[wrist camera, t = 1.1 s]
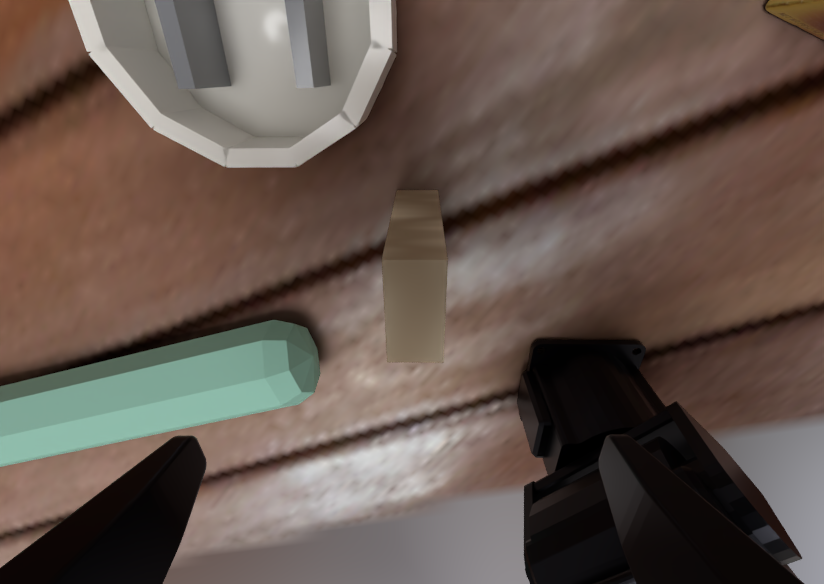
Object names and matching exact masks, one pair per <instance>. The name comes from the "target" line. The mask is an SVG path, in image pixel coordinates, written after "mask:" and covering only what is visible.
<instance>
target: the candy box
mask: <svg viewBox="0 0 824 584" xmlns="http://www.w3.org/2000/svg"><path fill="white" fill-rule="evenodd" d="M765 8H766V10H767V11H768V12H770V13H771V14H773V15H775V16H777V17H779V18H781V19H783V20H785V21H787V22H789V23H791V24H793V25H796V26H798V27H800V28H801V29H803V30H805V31H807V32H809V33H811V34H813V35H815V36H817V37H818V38H820V39H822V40H824V0H769V1H768V3H767V4H766V7H765Z"/></svg>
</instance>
